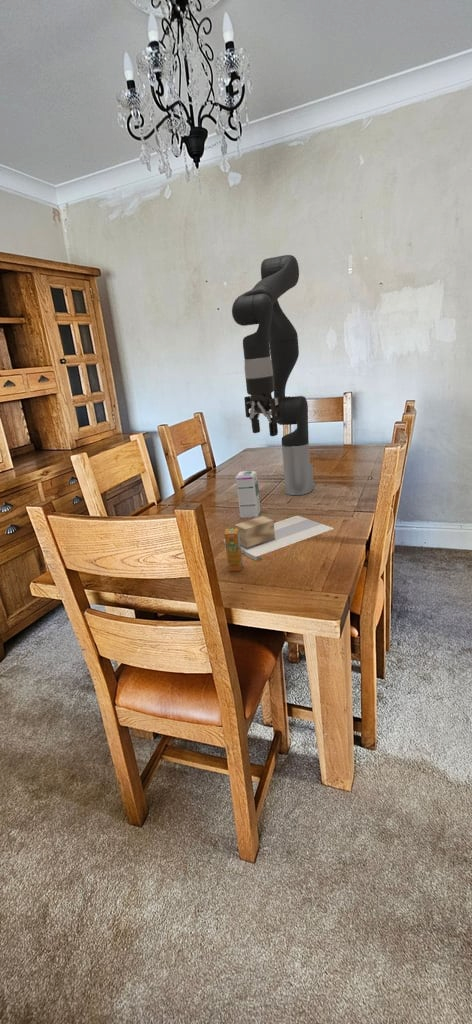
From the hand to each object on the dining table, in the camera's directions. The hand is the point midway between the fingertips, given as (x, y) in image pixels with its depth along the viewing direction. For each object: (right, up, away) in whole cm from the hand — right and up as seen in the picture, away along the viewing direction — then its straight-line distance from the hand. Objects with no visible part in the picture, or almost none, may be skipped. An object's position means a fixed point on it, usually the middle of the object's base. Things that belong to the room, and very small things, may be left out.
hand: (264, 434), depth 136 cm
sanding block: (-3, -30, -8) cm, 31 cm away
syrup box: (-4, -24, +14) cm, 28 cm away
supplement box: (-8, -36, -20) cm, 42 cm away
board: (+4, -29, -4) cm, 30 cm away
